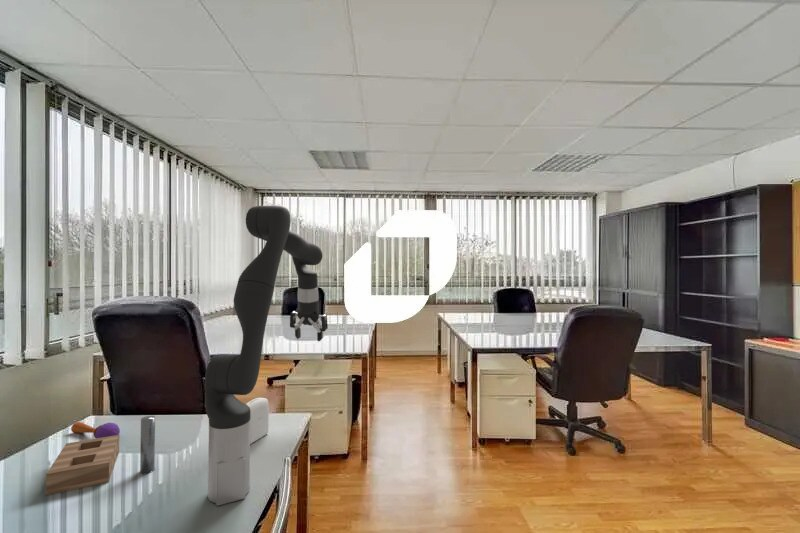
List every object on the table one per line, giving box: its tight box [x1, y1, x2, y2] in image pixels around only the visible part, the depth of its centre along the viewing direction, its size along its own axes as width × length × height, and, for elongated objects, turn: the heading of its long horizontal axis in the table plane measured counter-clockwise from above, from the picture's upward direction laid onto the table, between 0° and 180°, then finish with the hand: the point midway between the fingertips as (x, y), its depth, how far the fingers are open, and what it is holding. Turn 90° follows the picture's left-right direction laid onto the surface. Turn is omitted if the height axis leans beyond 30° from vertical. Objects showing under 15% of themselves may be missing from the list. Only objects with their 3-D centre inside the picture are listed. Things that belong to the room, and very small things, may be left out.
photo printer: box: [245, 397, 270, 445], centre depth 123 cm, size 10×4×12 cm, turn 160°
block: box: [45, 434, 120, 496], centre depth 102 cm, size 18×12×5 cm, turn 29°
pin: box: [139, 415, 156, 475], centre depth 103 cm, size 3×3×14 cm
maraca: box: [70, 421, 121, 439], centre depth 122 cm, size 6×6×20 cm
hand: (309, 339), depth 147 cm, fingers open, 8 cm apart
